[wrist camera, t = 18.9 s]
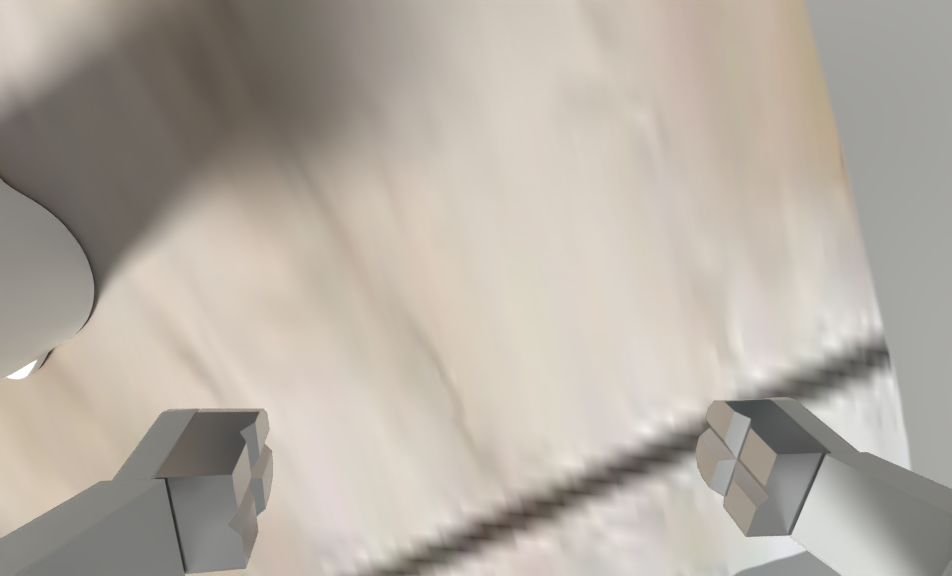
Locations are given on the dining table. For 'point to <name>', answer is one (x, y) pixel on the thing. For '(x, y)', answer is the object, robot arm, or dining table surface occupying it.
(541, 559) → the dining table surface
